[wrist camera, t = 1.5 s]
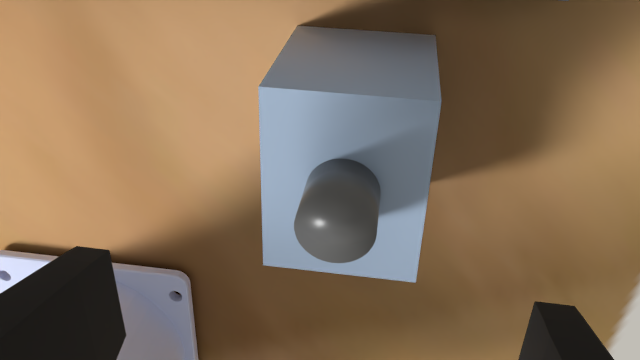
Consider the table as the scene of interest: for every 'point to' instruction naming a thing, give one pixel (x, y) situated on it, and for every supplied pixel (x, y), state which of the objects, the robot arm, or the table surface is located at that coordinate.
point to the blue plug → (348, 151)
